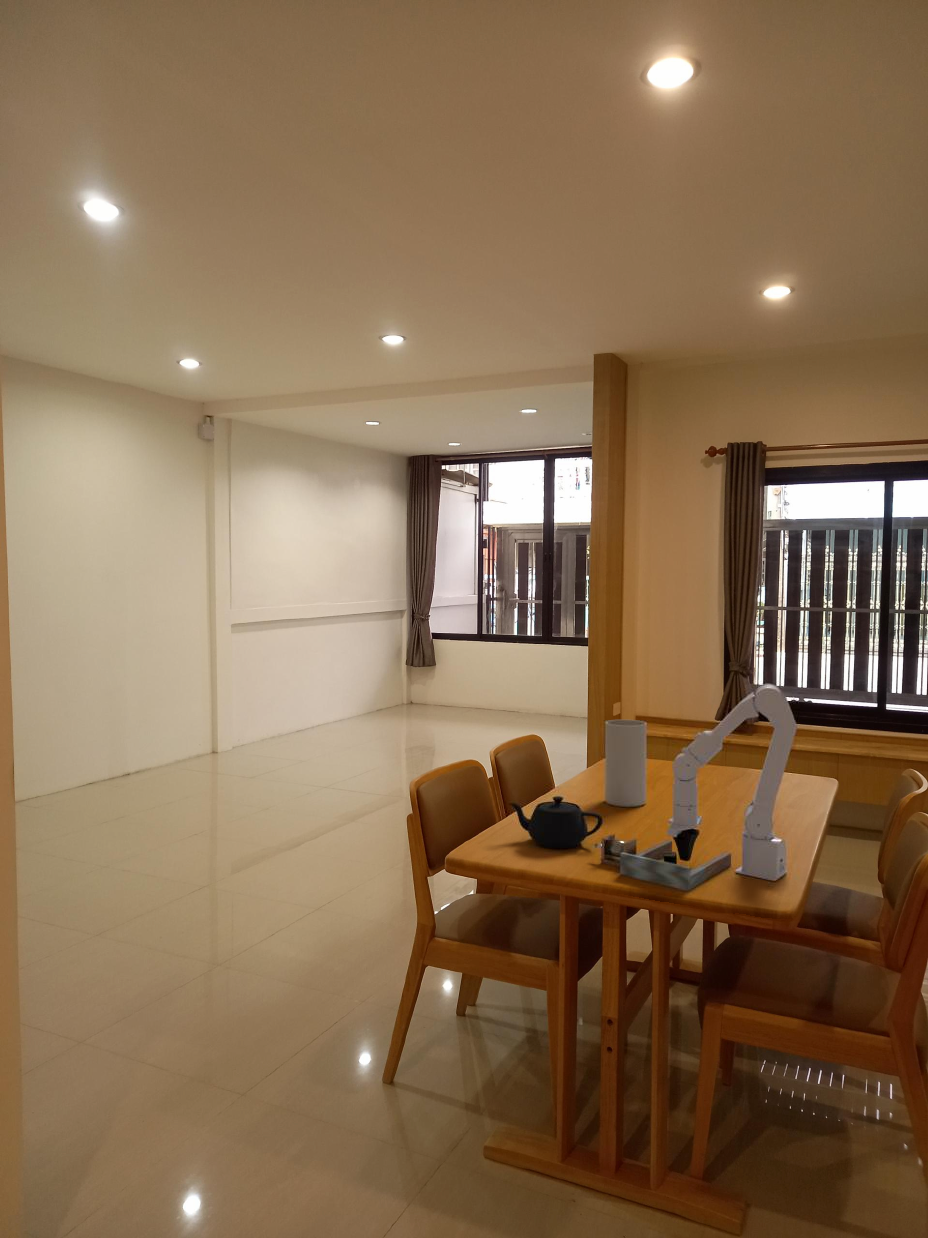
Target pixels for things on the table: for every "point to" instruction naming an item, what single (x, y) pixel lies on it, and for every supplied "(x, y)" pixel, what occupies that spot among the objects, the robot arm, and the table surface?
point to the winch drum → (615, 849)
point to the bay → (669, 867)
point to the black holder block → (670, 857)
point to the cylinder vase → (625, 763)
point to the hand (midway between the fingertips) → (684, 860)
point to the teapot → (557, 823)
